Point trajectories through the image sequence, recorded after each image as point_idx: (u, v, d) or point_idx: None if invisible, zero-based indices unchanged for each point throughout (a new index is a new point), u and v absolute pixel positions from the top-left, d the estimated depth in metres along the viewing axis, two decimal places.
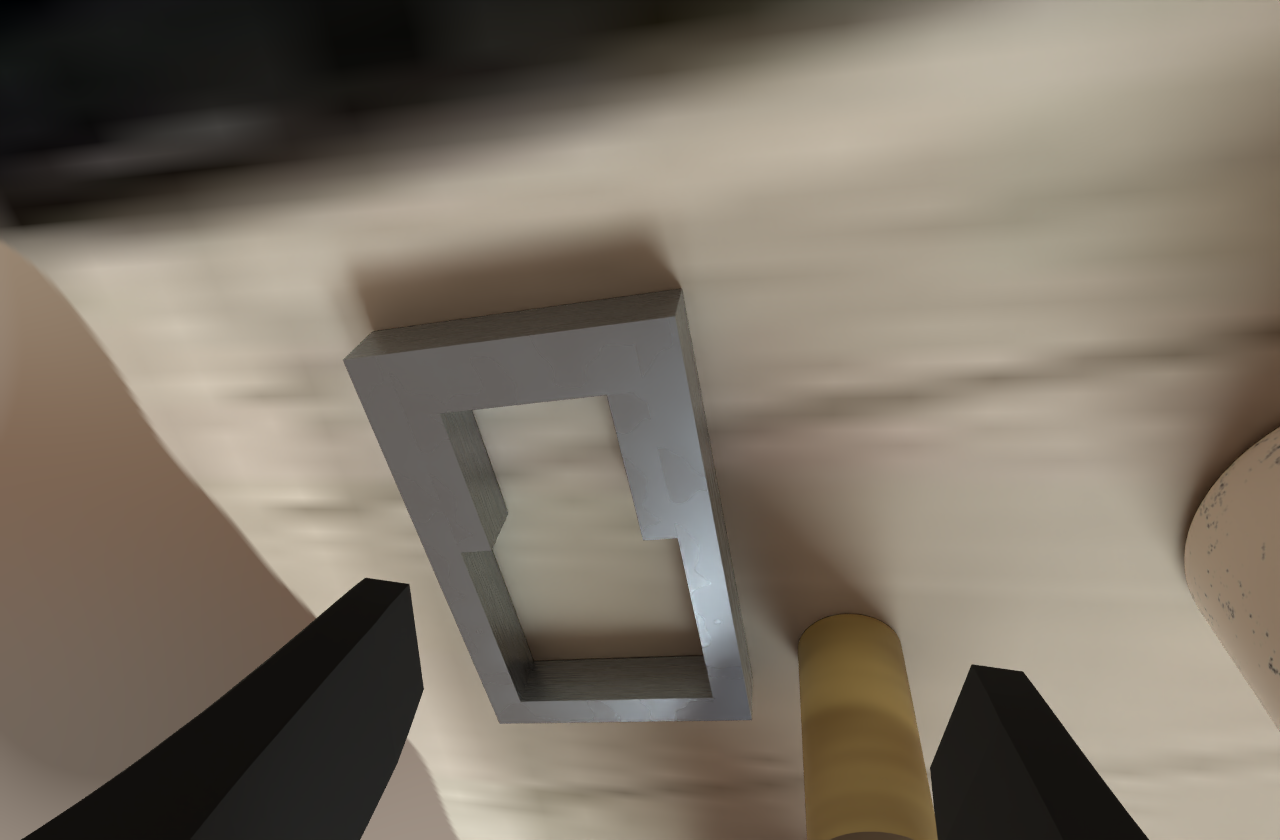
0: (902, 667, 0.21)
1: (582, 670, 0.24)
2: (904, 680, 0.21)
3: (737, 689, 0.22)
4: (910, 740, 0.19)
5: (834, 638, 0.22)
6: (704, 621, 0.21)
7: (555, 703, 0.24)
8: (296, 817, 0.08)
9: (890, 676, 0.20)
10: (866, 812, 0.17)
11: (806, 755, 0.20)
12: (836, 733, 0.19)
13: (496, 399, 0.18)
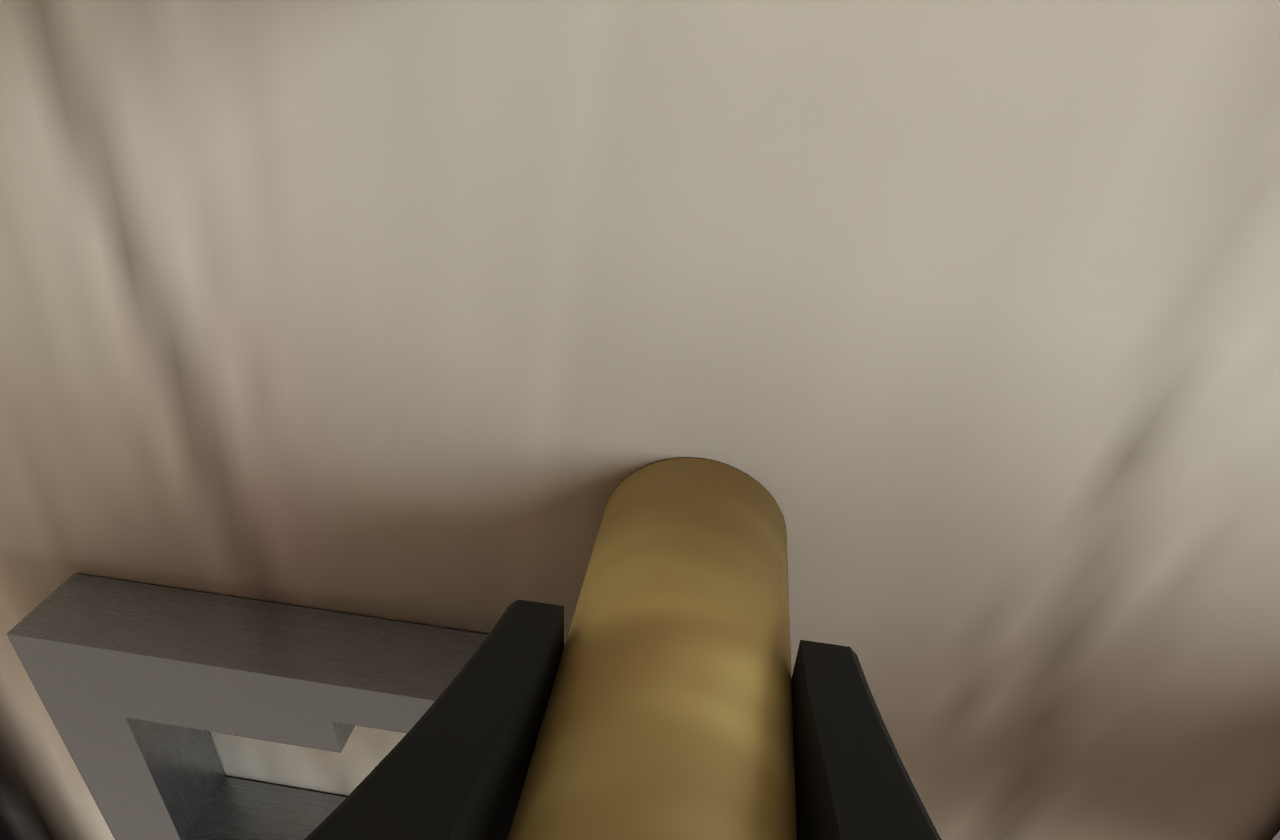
0: (649, 510, 0.11)
1: None
2: (643, 532, 0.10)
3: None
4: (596, 653, 0.09)
5: None
6: None
7: None
8: None
9: (601, 563, 0.10)
10: None
11: None
12: None
13: (153, 799, 0.16)
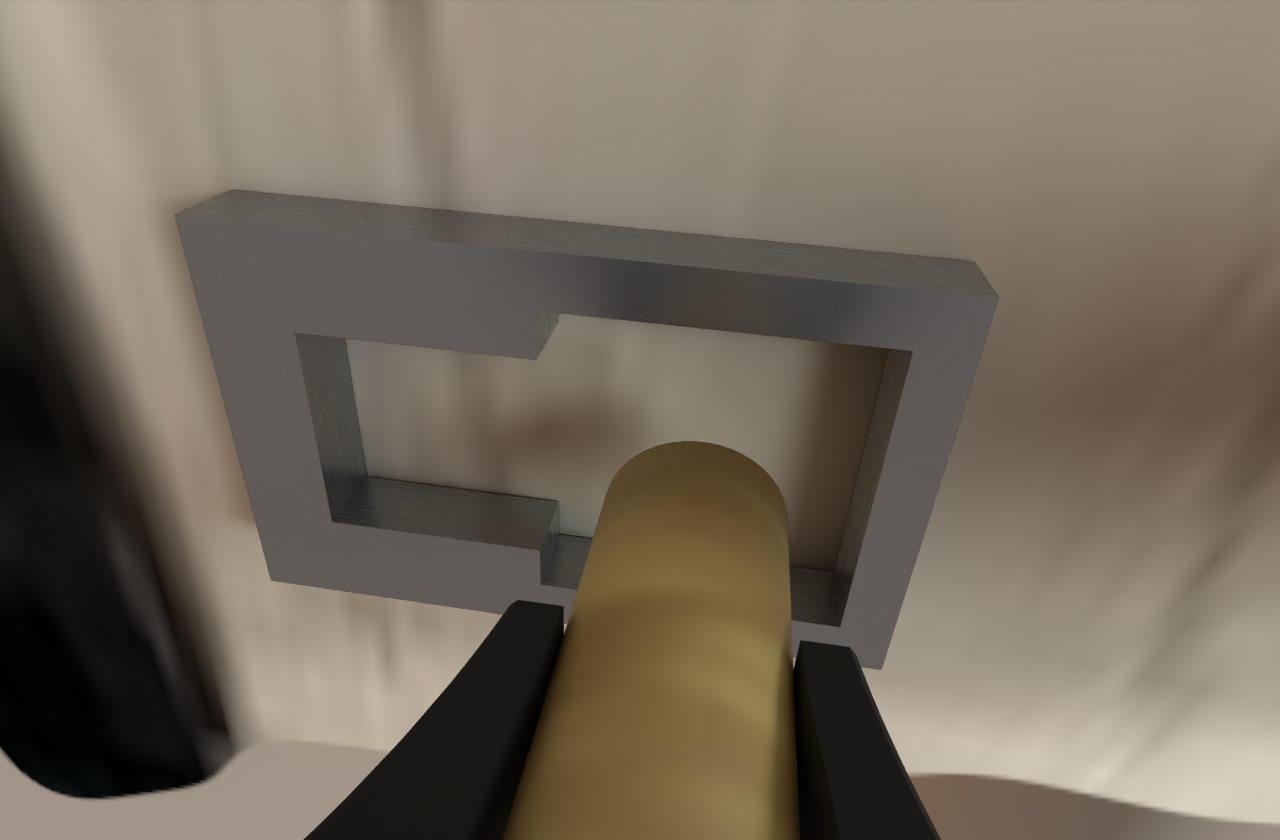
0: (658, 490, 0.11)
1: (852, 519, 0.15)
2: (651, 510, 0.10)
3: (902, 303, 0.12)
4: (606, 624, 0.09)
5: None
6: (717, 316, 0.12)
7: (856, 585, 0.14)
8: None
9: (609, 539, 0.10)
10: None
11: None
12: None
13: (309, 457, 0.15)
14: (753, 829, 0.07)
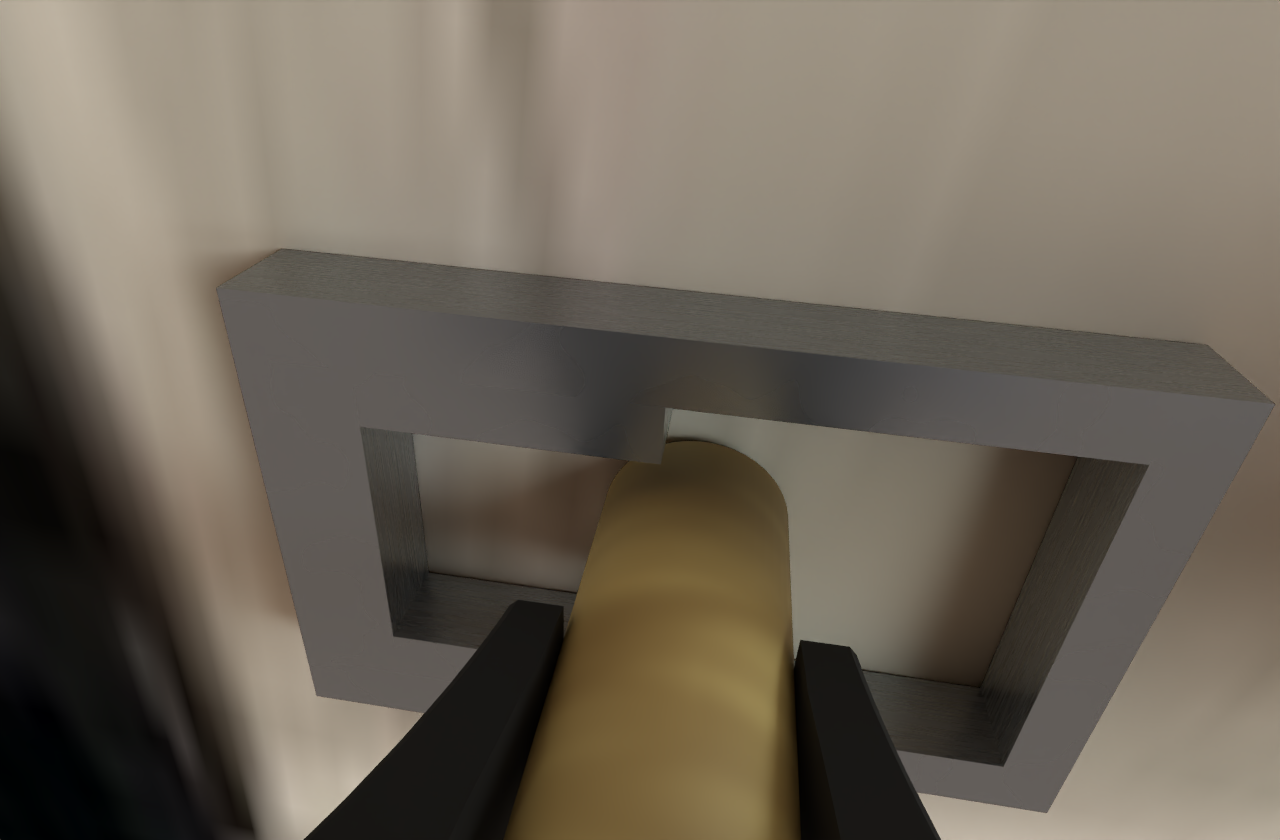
0: (659, 489, 0.11)
1: (1017, 637, 0.13)
2: (652, 510, 0.11)
3: (1145, 408, 0.09)
4: (606, 625, 0.09)
5: None
6: (899, 419, 0.10)
7: (1030, 723, 0.12)
8: None
9: (610, 539, 0.10)
10: None
11: None
12: None
13: (369, 566, 0.12)
14: (754, 829, 0.07)
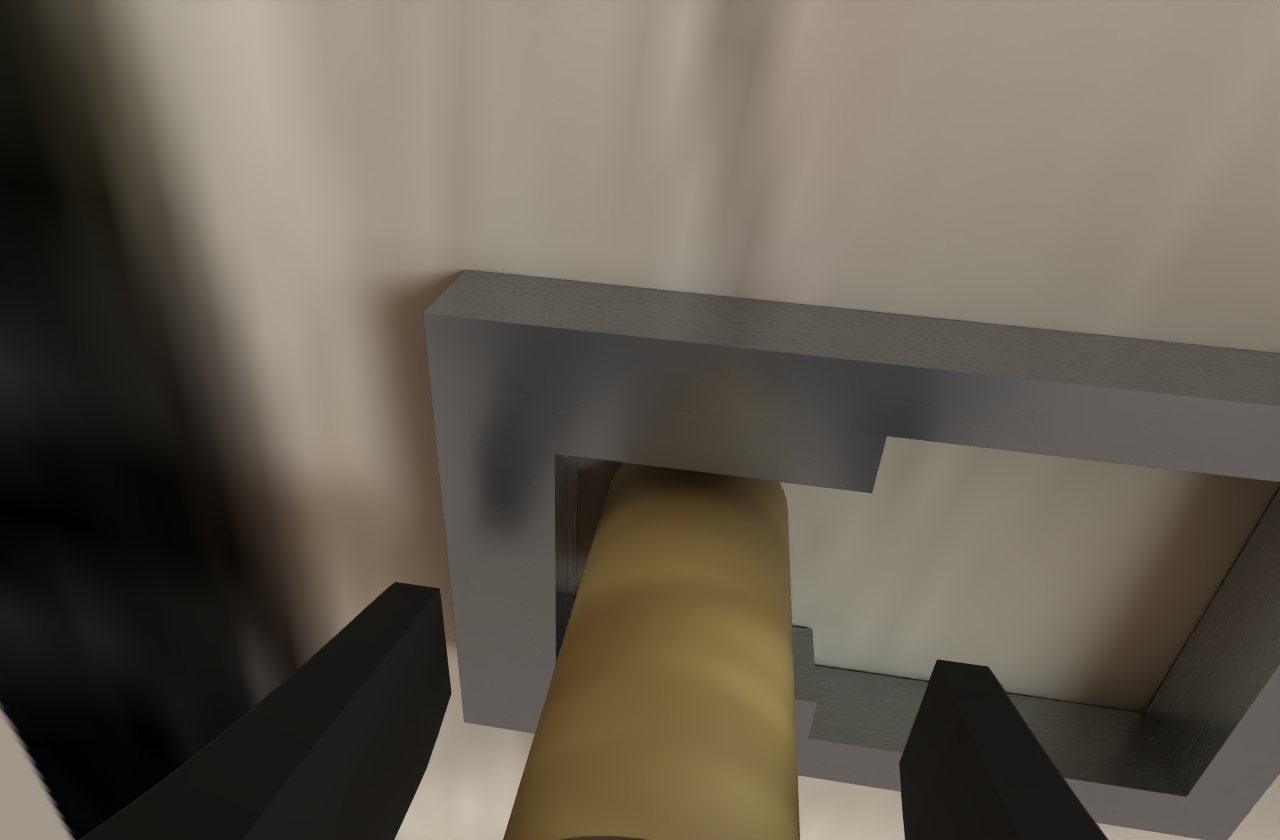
0: (660, 482, 0.11)
1: (1199, 664, 0.12)
2: (654, 502, 0.11)
3: None
4: (610, 614, 0.09)
5: None
6: (1136, 448, 0.09)
7: (1223, 753, 0.12)
8: (333, 824, 0.08)
9: (612, 531, 0.11)
10: None
11: None
12: None
13: (542, 593, 0.12)
14: (753, 811, 0.07)
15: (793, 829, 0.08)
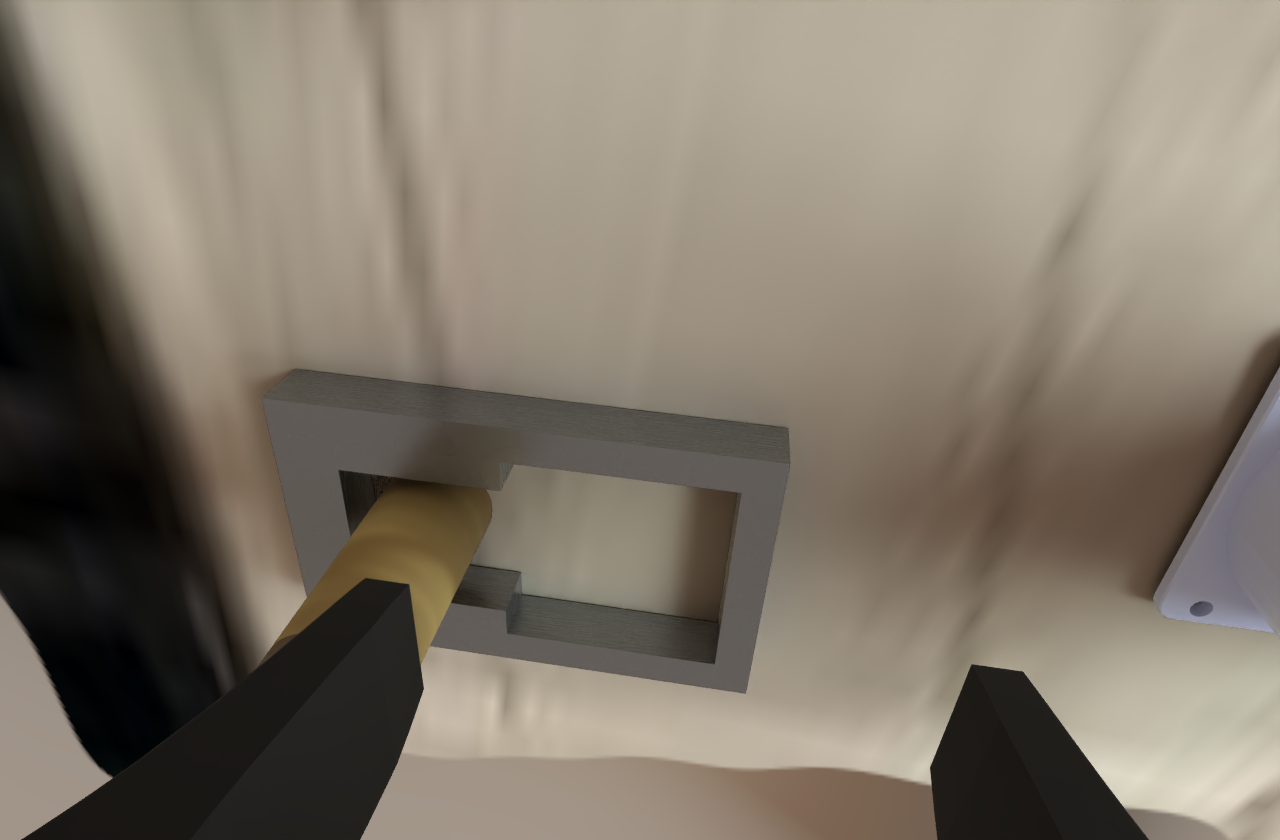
0: (400, 485, 0.20)
1: (723, 589, 0.22)
2: (392, 496, 0.20)
3: (731, 465, 0.18)
4: (346, 550, 0.18)
5: None
6: (616, 469, 0.19)
7: (722, 636, 0.21)
8: (296, 817, 0.08)
9: (369, 511, 0.20)
10: None
11: None
12: None
13: None
14: None
15: None
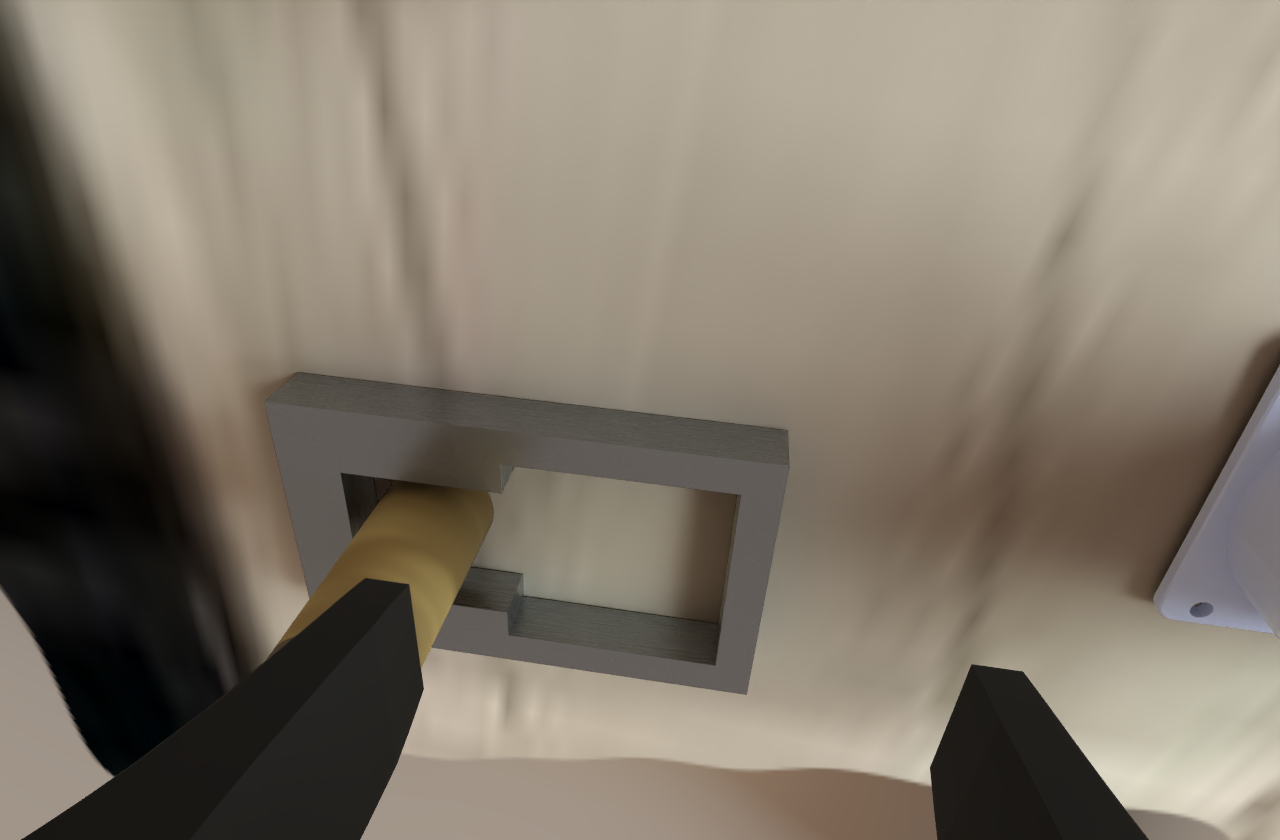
0: (402, 487, 0.20)
1: (724, 590, 0.22)
2: (394, 498, 0.20)
3: (731, 467, 0.18)
4: (349, 552, 0.18)
5: None
6: (616, 471, 0.19)
7: (722, 638, 0.21)
8: (296, 817, 0.08)
9: (371, 514, 0.20)
10: None
11: None
12: None
13: None
14: None
15: None
